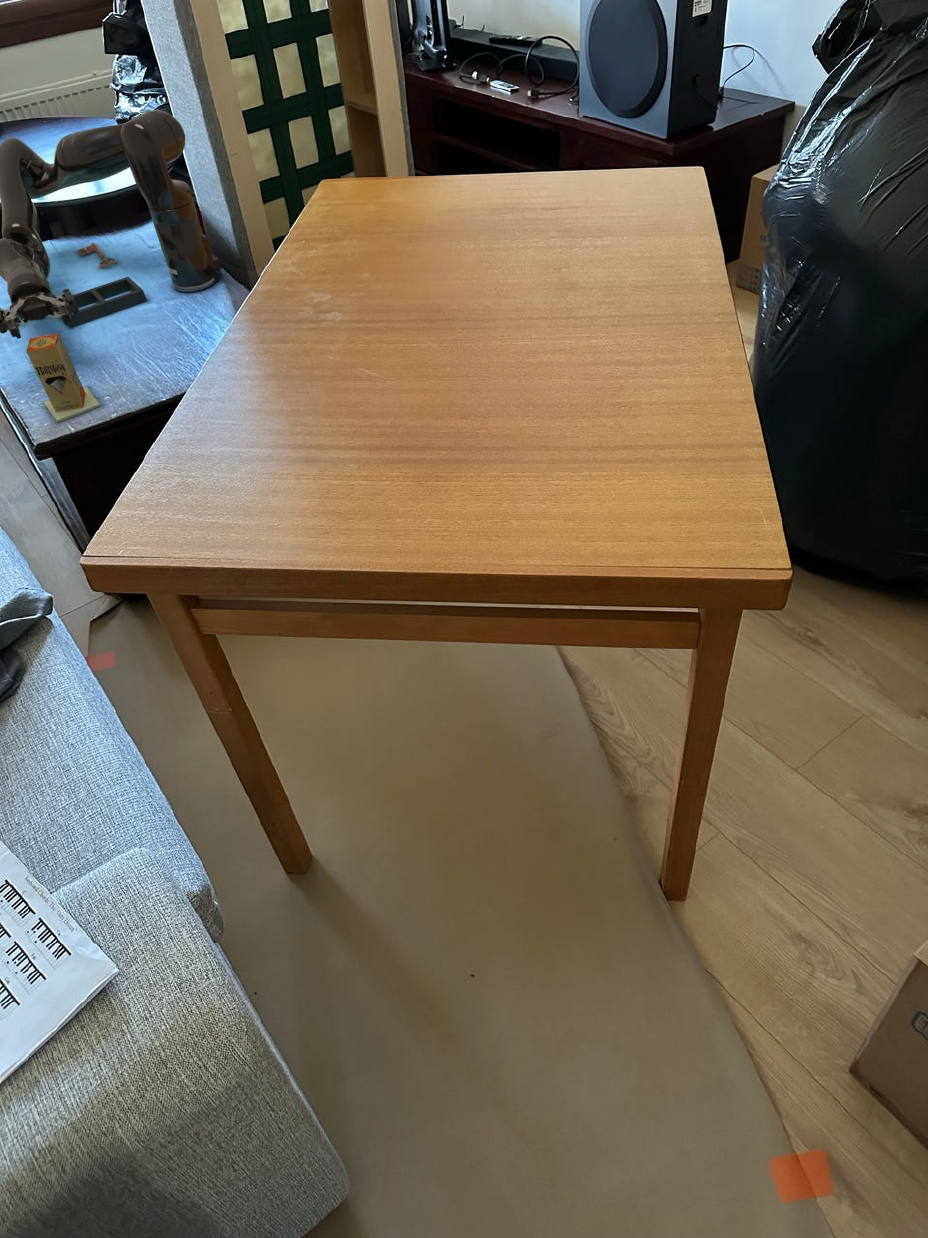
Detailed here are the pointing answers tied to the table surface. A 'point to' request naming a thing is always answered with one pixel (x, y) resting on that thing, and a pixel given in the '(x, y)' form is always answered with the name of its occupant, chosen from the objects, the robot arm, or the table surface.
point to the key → (98, 253)
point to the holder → (110, 305)
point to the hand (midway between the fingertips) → (41, 326)
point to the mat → (63, 415)
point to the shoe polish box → (56, 372)
